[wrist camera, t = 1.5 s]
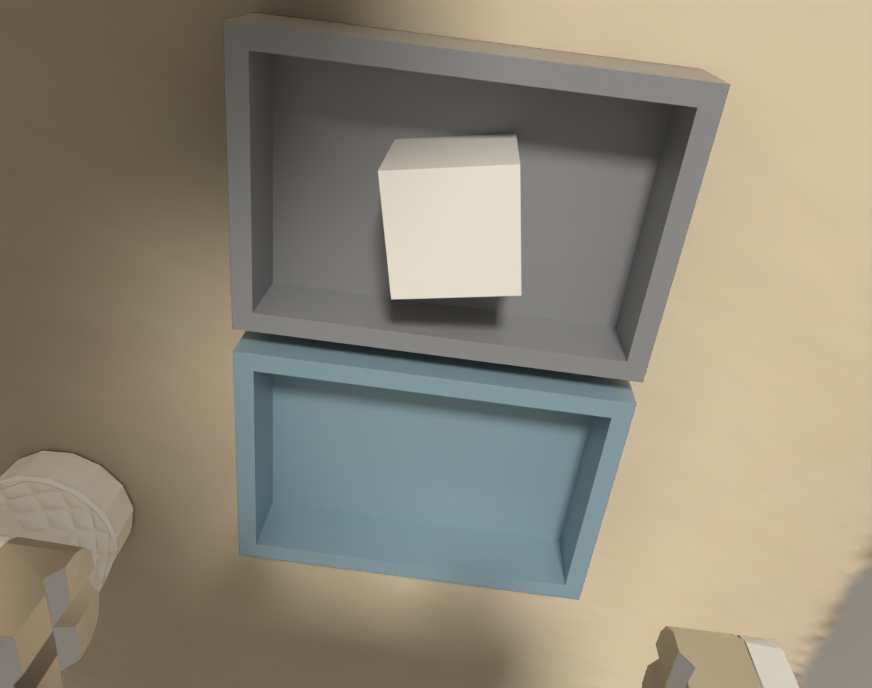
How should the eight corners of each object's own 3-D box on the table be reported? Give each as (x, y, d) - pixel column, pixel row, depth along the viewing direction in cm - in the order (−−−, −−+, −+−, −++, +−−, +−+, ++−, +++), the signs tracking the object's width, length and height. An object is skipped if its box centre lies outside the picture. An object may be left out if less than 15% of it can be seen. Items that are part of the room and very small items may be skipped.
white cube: (395, 139, 27) (377, 170, 23) (516, 132, 26) (520, 164, 22) (404, 252, 29) (391, 299, 25) (517, 248, 28) (521, 295, 24)
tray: (255, 12, 26) (223, 20, 22) (701, 68, 25) (730, 84, 22) (258, 291, 31) (232, 328, 28) (627, 339, 31) (642, 382, 28)
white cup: (101, 578, 40) (-9, 752, 31) (-29, 501, 38) (-186, 665, 29) (174, 500, 37) (75, 670, 28) (36, 411, 35) (-117, 565, 26)
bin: (258, 312, 31) (233, 351, 28) (622, 359, 31) (636, 403, 28) (260, 504, 37) (239, 554, 33) (571, 545, 36) (579, 599, 33)
